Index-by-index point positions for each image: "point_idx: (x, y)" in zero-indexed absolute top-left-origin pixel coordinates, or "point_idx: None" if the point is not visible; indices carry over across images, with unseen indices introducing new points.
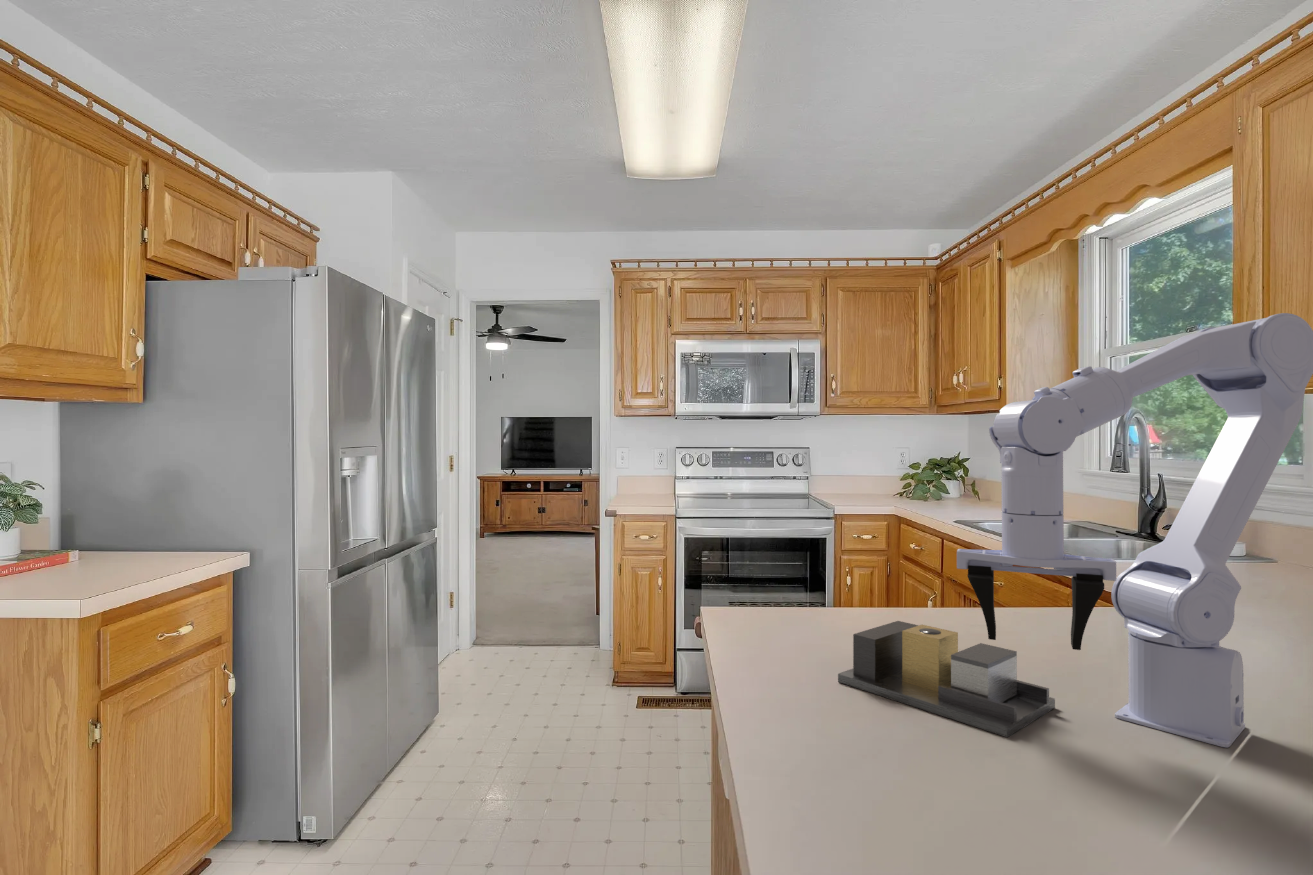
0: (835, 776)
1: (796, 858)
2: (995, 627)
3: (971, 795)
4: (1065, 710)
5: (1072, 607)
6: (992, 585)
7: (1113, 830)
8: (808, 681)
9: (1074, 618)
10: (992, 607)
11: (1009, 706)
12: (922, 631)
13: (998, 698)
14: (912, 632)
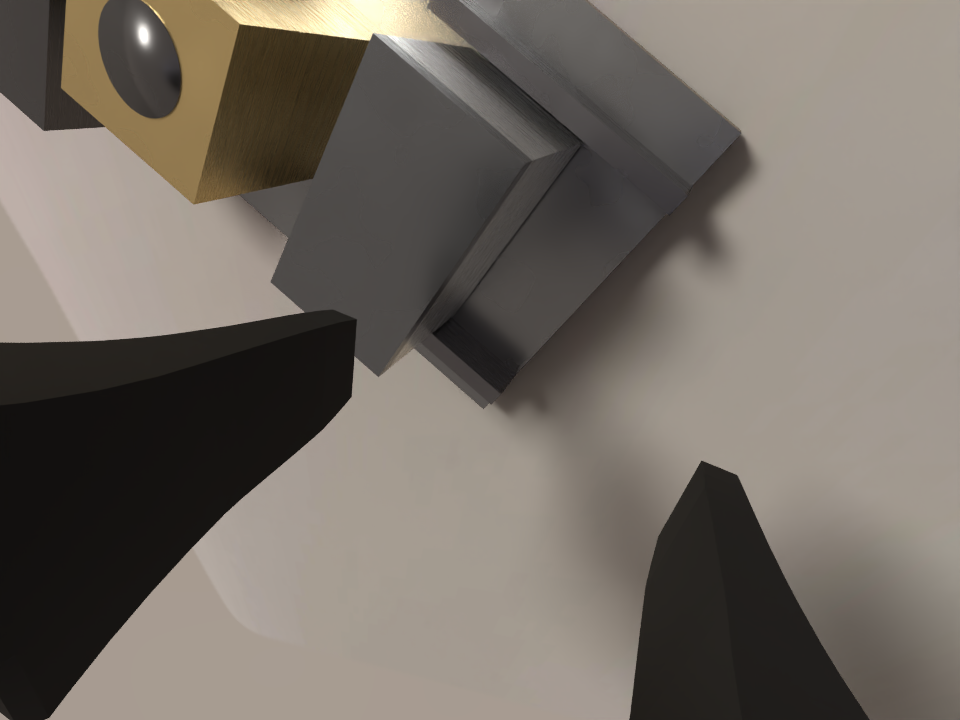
0: (248, 510)
1: (259, 629)
2: (317, 400)
3: (402, 569)
4: (788, 125)
5: (728, 626)
6: (83, 670)
7: (567, 665)
8: None
9: (649, 690)
10: (215, 518)
11: (482, 392)
12: (117, 79)
13: (485, 268)
14: (95, 108)
